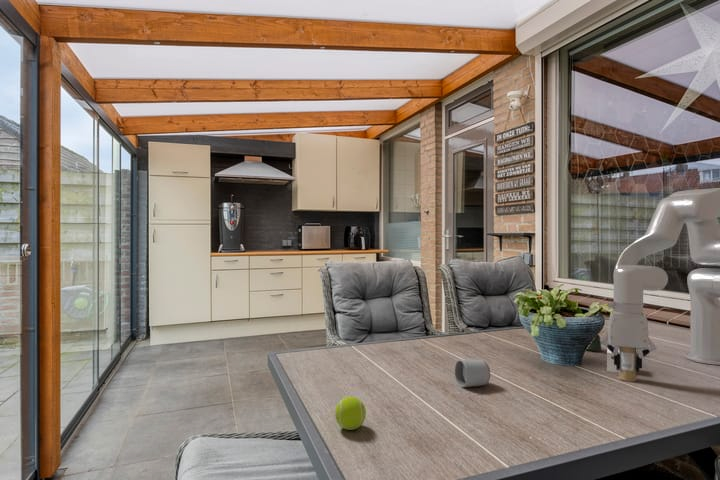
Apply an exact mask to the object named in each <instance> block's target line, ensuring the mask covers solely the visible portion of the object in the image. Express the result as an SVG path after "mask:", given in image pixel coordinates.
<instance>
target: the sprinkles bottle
mask: <svg viewBox="0 0 720 480" xmlns="http://www.w3.org/2000/svg"><path fill="white" fill-rule="evenodd" d="M636 356H637V349H636V348H628V347H619V368H620V372H619V373H618V375H619V376H618V378H619V379H620V380H623V381H625V382H632V383H633V382H637V379H638V378H637V371H636Z"/></svg>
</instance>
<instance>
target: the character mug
mask: <svg viewBox="0 0 720 480" xmlns="http://www.w3.org/2000/svg"><path fill="white" fill-rule="evenodd" d="M603 330H604V329H602V330H601V332H600V333H599V334H598V335H597V336H596V337H595V339H594V340H593V341H592V343H591V344H590V346H589V347H588V349H587V350H588V351H589V350H590V351H598V352H599V351H601V350H602V344H601V336H600V335H601V334H603Z"/></svg>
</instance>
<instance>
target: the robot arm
mask: <svg viewBox="0 0 720 480" xmlns="http://www.w3.org/2000/svg"><path fill="white" fill-rule="evenodd" d="M719 217H720V187H713V188H698V189H697V188H696V189H686V190H679V191H675V192H673V193H671V194H670V195H669V196H666V197H664V198H661V200H660V201H659V202H658V203H657V206H656V208H655V211H654V213H653V215H652V217H651V220H650V222H649V224H648V226H647V228H646V232H645V234H644V235H642V236H640V237H639V238H638V239H636V240H635V241H633V242H632V243H631V244H630V245H628V246H627V247H625V249H623V251H622V252H621V254H620V255H619V257H618V260H617V262H616V264H615V266H614V270H613V276H612V277H613V302H608V304H607V306H608V307H607V308H610V309H612V311H610V314H609V320H608V332H607V334H605V336H603V338H602V339H600V341H601V345H603V346H604V347H605V348H606V349H607V348H608V349H609V350H610V351H611V352H612V353H613V354H614V365H617V369H619V352H618V351H619V350H620V347H628V348H636V372H638V373H639V372H640V369H643V359H644V357H645V356H647V355H649V354H650V353H652V352H654V351H657V349H658V348H657V346H656V345H655V343H654V342H653V341H652V339H651V338H650V337H649V323H648V318H647V314H646V313H644V291H646V292H647V291H648V292H657V291H661V290H663V289H664V288H665V287H666V286H667V285H668V281H669V276H668V273H667V272H666V271H665V270H664V269H663V268H661V267H658V266H653V265H643V264H638V263H639V262H640V261H641V260H642V259H644V258H645V257H647V256H650V255H653V254H656V253H659V252H661V251H662V252H663V251H664V250H667V249H671V248H672V247H674V246H675V245H676V244H677V242H678V239H679V236H680V234H681V232H682V230H683V227H684V225H686V227H687V228H686V229H687V235H688V245H689V254H690V258H691V260H692V262H694V263H695V264H697V265H700V266H701V265H702V266H703V265H704V266H715V267H717V266H718V267H720V223H719V222H720V221H719V220H718V218H719ZM686 278H687V279H686V280H687V281H686V282H687V288H688V293H689V301H690V316H689V317H690V318H689V319H690V320H689V321H690V325H689V326H690V327H689V329H690V331H689V332H690V335H689V337H690V338H689V339H690V343H689V345H690V346H689V347H690V348H689V349H690V350H689V351H687V352H685V353H684V357H685V358H686V360H687V359H688V360H689V361H692V362H697V363H699V364H700V363H701V364H708V365H716V366H720V268H709V267H708V268H707V267H705V268H703V267H700V268H699V267H698V268H696V269H692V270H691V271H690V272H689V273H688V275H687V277H686Z"/></svg>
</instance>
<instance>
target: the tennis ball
mask: <svg viewBox="0 0 720 480" xmlns="http://www.w3.org/2000/svg"><path fill="white" fill-rule="evenodd" d="M334 415H335V420H336V423H337V424H338V425H339V427H341V428H342V429H345V430H349V431H353V430H356V429H359V427H361V426H362V425H363V423H364V422H365V419H366V415H367V413H366V407H365V405H364V402H363V401H362V400H361V399H359V398H357V397H354V396H347V397H346V396H345V397H344V398H342V399H340V401H339V402H338V403H337V405H336V407H335V410H334Z"/></svg>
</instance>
